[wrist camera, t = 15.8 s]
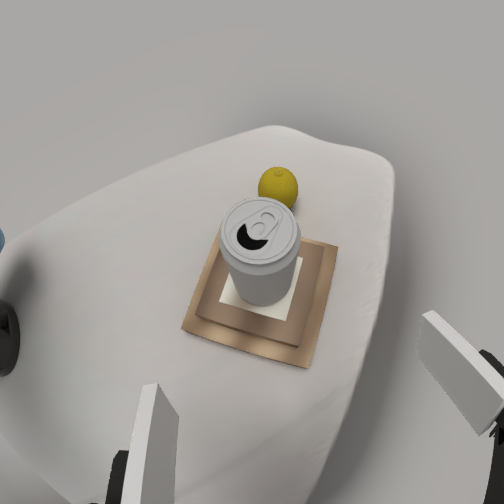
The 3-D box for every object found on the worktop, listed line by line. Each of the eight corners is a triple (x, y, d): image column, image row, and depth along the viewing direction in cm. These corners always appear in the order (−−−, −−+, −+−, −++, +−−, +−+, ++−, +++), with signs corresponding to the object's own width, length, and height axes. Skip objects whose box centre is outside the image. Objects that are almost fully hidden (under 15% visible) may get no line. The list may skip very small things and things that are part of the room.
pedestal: (186, 331, 35) (172, 324, 30) (226, 226, 41) (220, 205, 36) (305, 368, 32) (312, 368, 27) (334, 254, 38) (343, 235, 33)
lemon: (291, 225, 41) (295, 193, 33) (254, 217, 41) (251, 184, 34) (299, 194, 43) (303, 160, 35) (264, 187, 43) (262, 152, 36)
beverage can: (222, 283, 32) (197, 234, 21) (259, 242, 33) (253, 179, 22) (267, 319, 30) (264, 287, 19) (303, 274, 31) (319, 221, 20)
